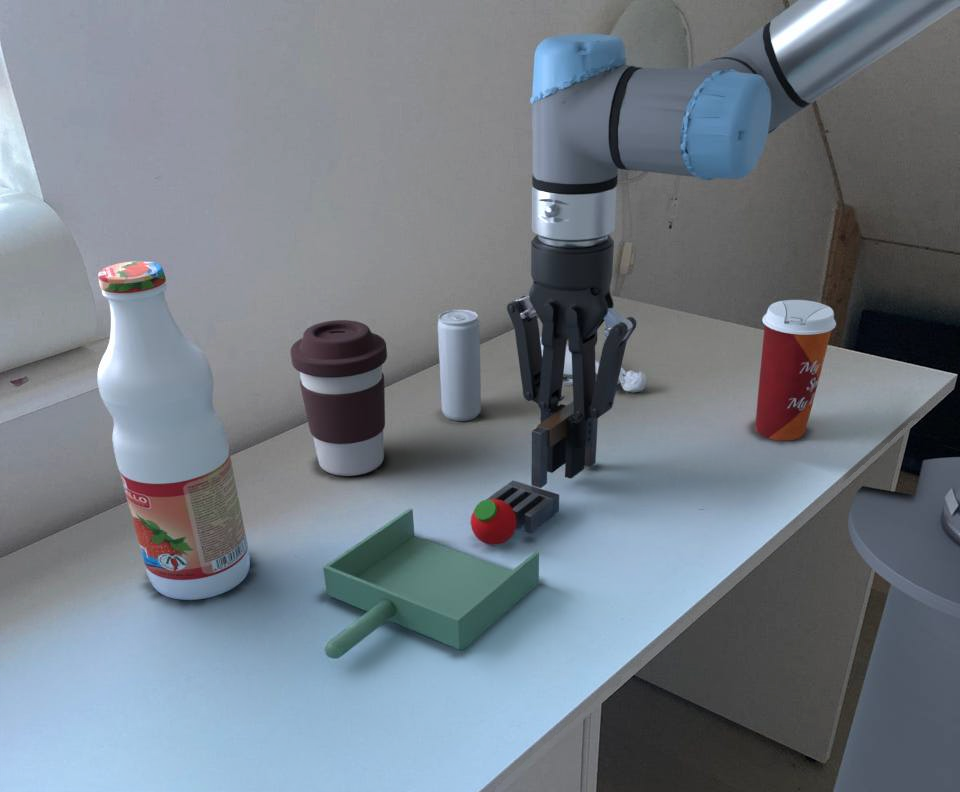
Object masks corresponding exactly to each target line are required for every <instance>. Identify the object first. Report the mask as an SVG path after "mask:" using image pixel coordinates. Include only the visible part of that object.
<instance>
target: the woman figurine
mask: <svg viewBox="0 0 960 792" xmlns="http://www.w3.org/2000/svg"><path fill="white" fill-rule="evenodd" d="M541 337H542V335H540V342H541ZM541 351H542V356H543V345H542V344H541ZM599 363H600V361H598V360H597V359H595V367H596V376H597V373H598V368H599ZM563 378H567V379H566V380H567V381H563V383H562V386H564V387H569V388H570V387H573V380H572V354H571V352H570V351H569V347H568V344H566V354H565V363H564V373H563ZM647 383H648V378H647V376H646V374H645V373H644V372H643V371H641V370H638V372H636V371H634V370H633V369H631V370H629V371H626V370H625V369H624V368H623V367H622V366H621V370H620V375H619V379H618V384H617V385H619V384H620V386H621V388H622V389H623V390H624V391H625V392H627V393H633V394H634V393H635V394H636V393H639V392H642V391H643V390H644V389H645V388H646V386H647Z"/></svg>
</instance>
